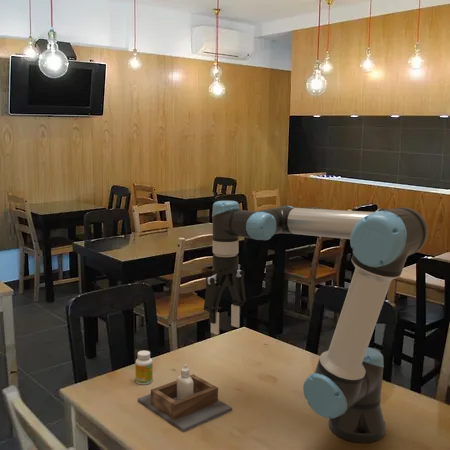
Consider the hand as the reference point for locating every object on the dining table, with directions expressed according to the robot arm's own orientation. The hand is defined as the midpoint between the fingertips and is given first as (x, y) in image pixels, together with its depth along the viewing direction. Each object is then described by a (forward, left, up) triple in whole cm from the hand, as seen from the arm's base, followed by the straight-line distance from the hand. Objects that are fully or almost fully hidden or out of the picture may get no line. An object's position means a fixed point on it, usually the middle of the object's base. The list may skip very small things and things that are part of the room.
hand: (225, 329), depth 164 cm
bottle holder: (+4, +12, -22) cm, 25 cm away
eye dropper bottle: (+4, +12, -21) cm, 25 cm away
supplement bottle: (+25, +12, -22) cm, 36 cm away
